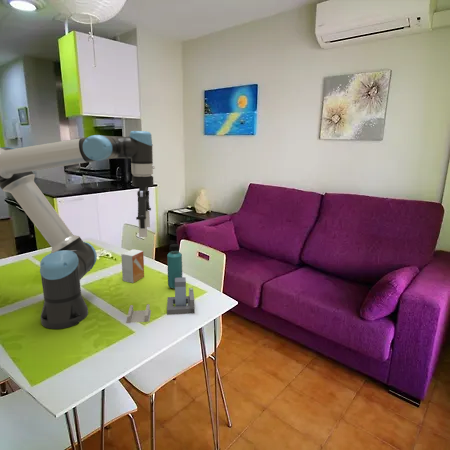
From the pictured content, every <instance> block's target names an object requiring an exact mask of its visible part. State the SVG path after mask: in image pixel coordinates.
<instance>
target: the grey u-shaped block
mask: <svg viewBox="0 0 450 450" xmlns="http://www.w3.org/2000/svg"><path fill="white" fill-rule="evenodd" d="M151 314H152V310H151V309H150V304H149V303H148V304H146V307H145V310H144V309H143V310H134V305H132V304H131V305H129V308H128V313H127V316H126V322H125V323H126V324H129V323H130V324H131V323H134V324H135V323H147V322H150V321H151V320H150V319H151Z"/></svg>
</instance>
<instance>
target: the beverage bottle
mask: <svg viewBox="0 0 450 450" xmlns="http://www.w3.org/2000/svg"><path fill="white" fill-rule="evenodd" d="M166 257H167V285H168V288H171V289H175V278H182V277H183V255H182V253H181V251H180V246H179V244H178V243H171V244H170V245H169V252H168V254H167V256H166Z"/></svg>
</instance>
